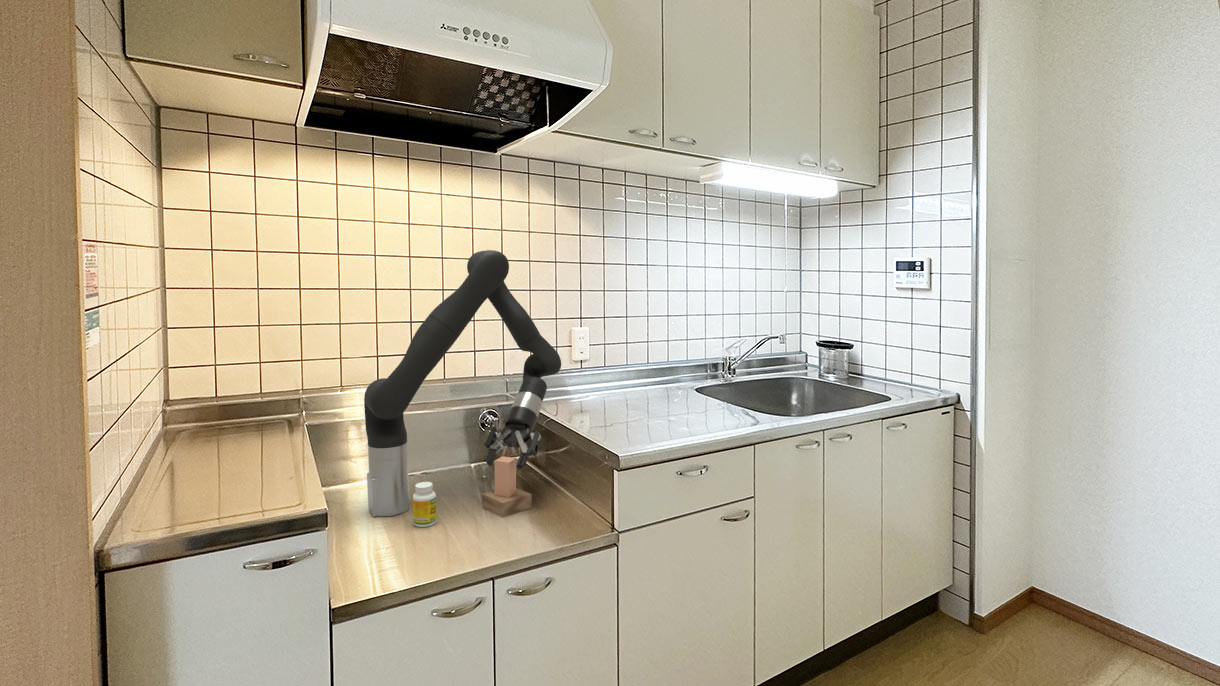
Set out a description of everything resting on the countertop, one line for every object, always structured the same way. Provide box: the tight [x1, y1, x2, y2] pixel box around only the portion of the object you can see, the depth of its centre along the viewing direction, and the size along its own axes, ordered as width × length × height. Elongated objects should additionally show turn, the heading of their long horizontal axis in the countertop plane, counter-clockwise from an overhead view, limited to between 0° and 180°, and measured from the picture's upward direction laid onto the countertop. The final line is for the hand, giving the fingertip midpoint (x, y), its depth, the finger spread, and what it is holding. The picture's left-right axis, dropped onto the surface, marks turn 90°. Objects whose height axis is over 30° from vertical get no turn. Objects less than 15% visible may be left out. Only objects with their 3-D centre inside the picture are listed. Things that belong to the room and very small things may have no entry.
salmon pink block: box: [494, 456, 517, 497], centre depth 151 cm, size 4×4×9 cm
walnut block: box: [481, 487, 533, 518], centre depth 152 cm, size 9×9×4 cm
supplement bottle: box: [412, 481, 437, 528], centre depth 141 cm, size 5×5×10 cm
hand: (503, 466), depth 149 cm, fingers open, 8 cm apart
